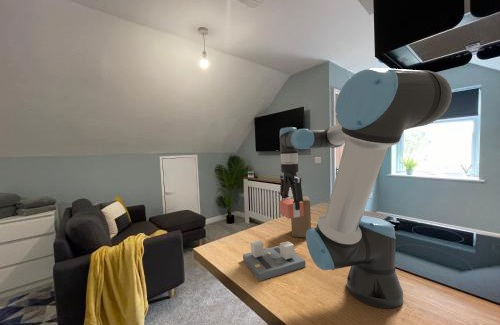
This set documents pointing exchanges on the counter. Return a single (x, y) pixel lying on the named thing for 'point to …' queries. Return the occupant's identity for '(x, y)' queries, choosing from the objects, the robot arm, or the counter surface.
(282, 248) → the block
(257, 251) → the block
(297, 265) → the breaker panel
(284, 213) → the cap
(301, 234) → the wooden block
